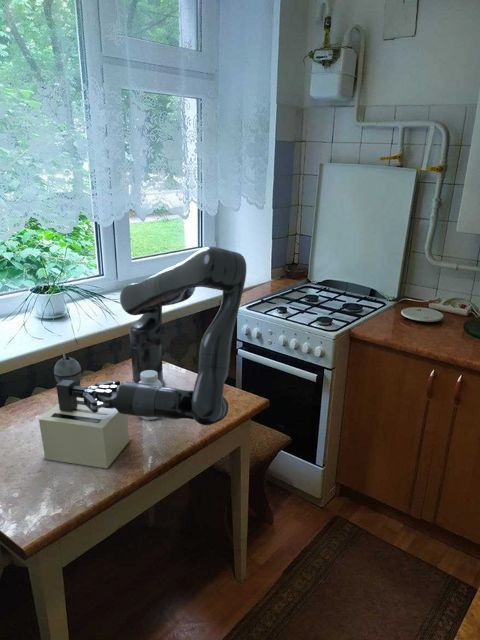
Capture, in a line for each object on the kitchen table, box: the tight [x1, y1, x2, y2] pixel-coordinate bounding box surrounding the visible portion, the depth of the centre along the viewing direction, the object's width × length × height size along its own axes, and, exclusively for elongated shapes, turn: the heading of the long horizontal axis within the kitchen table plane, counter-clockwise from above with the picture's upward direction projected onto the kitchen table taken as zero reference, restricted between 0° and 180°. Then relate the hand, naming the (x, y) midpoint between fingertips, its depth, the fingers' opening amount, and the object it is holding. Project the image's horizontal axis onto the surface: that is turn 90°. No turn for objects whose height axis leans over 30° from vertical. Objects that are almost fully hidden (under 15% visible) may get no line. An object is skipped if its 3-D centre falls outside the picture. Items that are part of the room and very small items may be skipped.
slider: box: [55, 380, 78, 412], centre depth 117 cm, size 3×3×7 cm
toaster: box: [38, 397, 130, 469], centre depth 120 cm, size 12×16×11 cm
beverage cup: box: [53, 344, 82, 386], centre depth 137 cm, size 7×7×20 cm
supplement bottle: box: [138, 370, 162, 421], centre depth 137 cm, size 7×7×13 cm
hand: (72, 391), depth 117 cm, fingers closed
